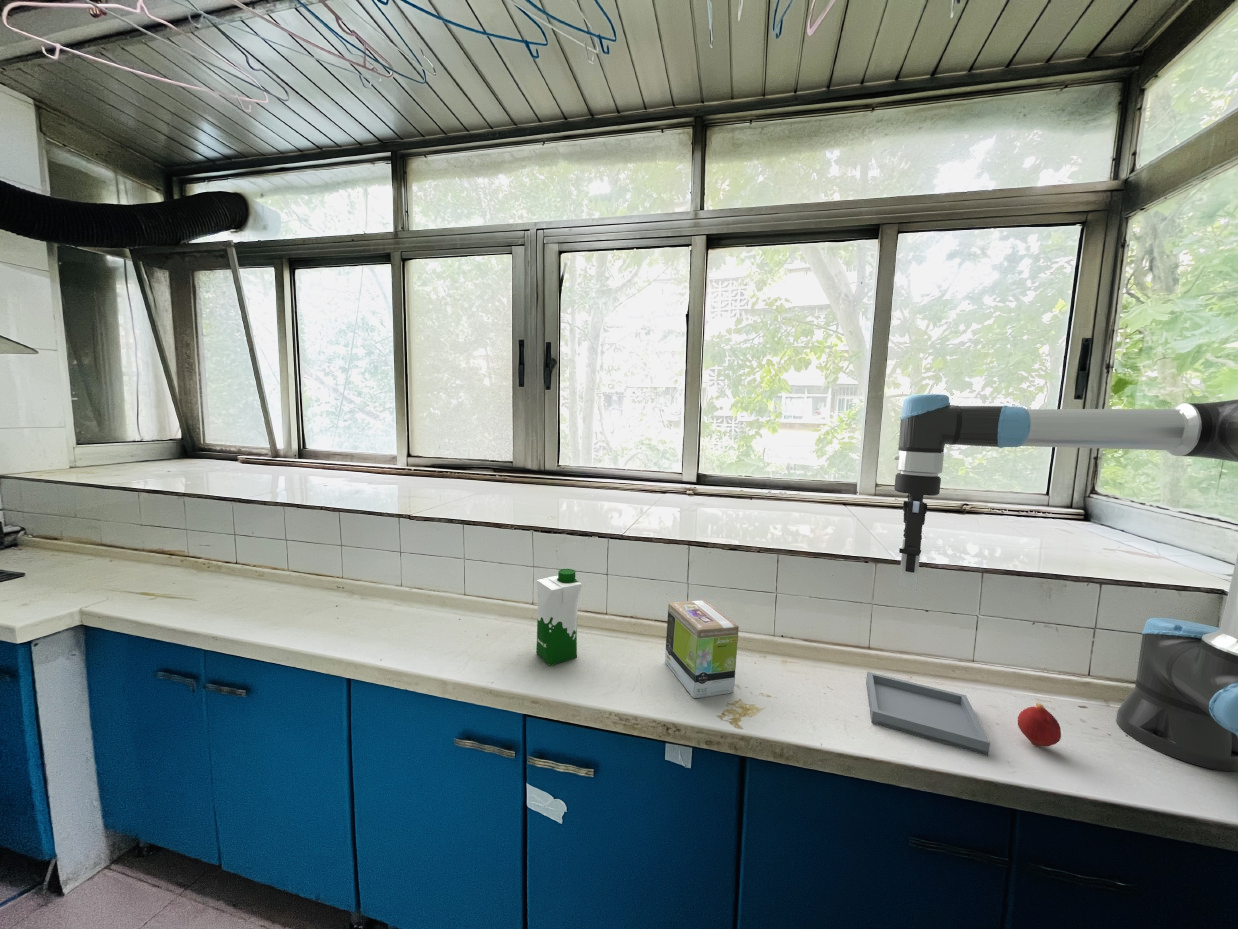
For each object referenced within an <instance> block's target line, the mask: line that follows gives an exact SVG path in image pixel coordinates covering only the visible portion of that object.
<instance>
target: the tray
mask: <svg viewBox="0 0 1238 929" xmlns="http://www.w3.org/2000/svg"><path fill="white" fill-rule="evenodd" d="M865 678H866V679H865V685H866V691H867V699H868V706H869V714H870V721H871V724H872V725H876V726H880V727H884V728H886V729H890V730H894V731H897V732H899V733H900V732H901V733H904V734H908V735H911V736H916V737H919V738H921V739H925V740H929V741H933V742H937V743H939V744H944V745H947V746H951V747H954V748H958V749H962V750H965V751H968V752H971V753H975V754H978V755H982V756H986V757H989V756H990V755H989V754H990V747H991V742H990V740H989V738H988V736H987V735H986V733H985V730H984V729H983V726H982V724H981V723H980V720H979V718H978V717H977V715H976V714H977V713H975V711H974V709H973V706H972V705H971V702H970V701H969V698H968V696H967V695H966V694H962V693H959V692H954V691H949V690H946V689H942V688H938V687H933V686H929V685H924V684H921V683H918V682H917V683H916V682H913V681H909V680H904V679H900V678H895V677H892V676H888V675H884V674H881V673H875V672H871V671H867V672H866V677H865Z"/></svg>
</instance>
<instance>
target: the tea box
mask: <svg viewBox="0 0 1238 929" xmlns="http://www.w3.org/2000/svg"><path fill="white" fill-rule="evenodd" d="M667 606H668V607H667V622H666V623H667V624H666V635H665V638H666V639H665V653H664V663H665V664H666V665H667V666H668V668H669V669H670V670H671V672H672V673H673V674H674V675H675V676H676V678H677V680H678V681H679V682H680V683H681V685H682V686H683V687H684V689H686V690H687V691H688V693H689V695H690V697H691V696H692V698H693V699H698V698H707V697H714V696H719V695H726V694H731V693H734V691H735V679H736V668H737V657H738V656H737V655H738V640H739V628H740V626H739V625H738V624H737V623H736V622H735V621H733V620H732V619H731V618H730V617H727V615H725V614H723V613H722V612H721V611H720V610H718V609H717V608H716V607H715V606H713V605H712V604H711V603H709V602H708V601H706V599H705V600H704V599H702V600H692V601H691V600H690V601H688V600H687V601H677V602H676V601H675V602H668V605H667Z"/></svg>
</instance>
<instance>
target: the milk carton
mask: <svg viewBox="0 0 1238 929" xmlns="http://www.w3.org/2000/svg"><path fill="white" fill-rule="evenodd" d="M557 574H558V575H554V576H548V577H546V578H540V579H537V580H536V590H537V617H536V618H537V621H536V623H537V626H536V627H537V628H536V649H535V653H536V654H537V655H538V656H539V657H540V658H541V659H542V660H543V661H544V662H545V663H546V664H548V666H550V667H551V666H555V665H557V664H560V663H563V662H564V663H565V662H567V661H571V660H573V659H576V658H577V657H578V648H577V647H578V639H577V638H578V637H577V636H578V615H579V614H578V611H579V610H578V609H579V608H578V607H579V596H580V593H581V589H582V586H583V584H582V583H581V582H580V581H579V580H577V578H576V570H574V569H572V568H563V569H559V570H558V572H557Z"/></svg>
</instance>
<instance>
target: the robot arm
mask: <svg viewBox="0 0 1238 929" xmlns="http://www.w3.org/2000/svg"><path fill="white" fill-rule="evenodd" d="M901 411H902V412H901V417H900V422H899V423H900V424H899V425H900V426H899V435H898V436H899V439H898V447H897V448H898V449H897V450H898V451H897V452H898V454H896V455H894V456H893V459H894V460H895V461H897V462H896V470H897V471H899V472H897V473H896V474H895V478H894V491H895V492H897V493H901V494H906V498H907V500H903V504H902V511H903V523H904V529H903V534H902V535H903V538H902V547H900V548H899V549H898V553H899V554H901V558H900V568H899V569H900V577H899V587H900V588H905V589H911V590H916V591H917V589H918V578H919V570H920V569H919V568H920V561H921V560H920V558H921V557H920V556H921V553H922V550H921V549H922V548H921V546H922V539H923V535H922V532H923V526H924V525H925V522H926V514H927V512H928V503H927V502H925V501H924V496H929V497H933V496H938V495H939V494H940V491H941V484H942V482H941V481H942V478H941V476H939V474H941V473H943V467H944V456H945V445H950V446H953V445H954V446H955V445H956V446H969V447H971V446H972V447H988V448H993V447H994V448H999V449H1002V448H1019V447H1020V448H1021V447H1035V448H1037V447H1039V448H1040V447H1043V448H1044V447H1045V448H1075V449H1076V448H1078V449H1080V448H1081V449H1106V450H1107V449H1110V450H1111V449H1112V450H1113V449H1114V450H1143V451H1146V450H1148V451H1166V452H1168V454H1170V455H1172V456H1175V457H1193V458H1202V459H1203V458H1205V459H1211V460H1212V459H1213V460H1220V461H1228V462H1234V463H1238V399H1231V400H1224V401H1223V400H1222V401H1212V402H1210V401H1209V402H1197V403H1196V402H1195V403H1194V402H1193V403H1192V402H1189V403H1188V402H1185V403H1184V402H1183V403H1179V404H1177V405H1174V406H1173V407H1172V408H1088V409H1087V408H1086V409H1085V408H1078V409H1077V408H1075V409H1074V408H1069V409H1067V408H1065V409H1064V408H1063V409H1062V408H1059V409H1058V408H1055V409H1053V408H1050V409H1049V408H1048V409H1047V408H1045V409H1043V408H1042V409H1041V408H1039V409H1038V408H1037V409H1036V408H1034V409H1033V408H1030V409H1028V408H1025V407H1022V406H1010V405H1009V406H1008V405H1003V406H1002V405H956V404H951V402H950V397H949V396H948V395H947V394H937V393H935V394H934V393H915V394H910V395H908V396H906V397H905V398H904V399H903V403H902V410H901ZM1224 606H1225V607H1224V610H1223V614H1222V618H1221V624H1220V627H1217V626H1212V625H1209V624H1203V623H1199V622H1194V621H1187V620H1182V619H1176V618H1170V617H1151V618H1148V619H1147V620H1146V621H1145V625H1144V627H1143V630H1142V632H1141V635H1142V637H1141V643H1140V651H1139V658H1138V662H1137V663H1138V665H1137V671H1136V679H1135V685H1134V688H1133V689H1132V691H1131V692H1130V693H1129V695H1128V696H1126V698H1125V700H1124V701H1123V702H1122V703H1121V705H1120V706H1119V707H1118V709H1117V712H1116V719H1115V721H1116V724H1117V725H1118V726H1119V728H1120V729H1121V730H1123V731H1124V732H1125V733H1126V734H1128V735H1129V736H1130V737H1132V738H1134V739H1135V740H1137V741H1138V742H1140V743H1142V744H1144V745H1146V746H1148V747H1149V748H1151V749H1153V750H1156V751H1158V752H1161V753H1162V754H1164V755H1167V756H1170V757H1172V758H1174V759H1178V760H1180V761H1183V762H1186V763H1189V764H1193V765H1196V766H1199V767H1202V768H1206V769H1207V768H1208V769H1210V770H1215V771H1216V770H1217V771H1224V772H1237V771H1238V553H1237V554H1236V560H1235V564H1234V567H1233V571H1232V576H1231V580H1230V584H1229V590H1228V593H1227V597H1226V602H1225V605H1224Z"/></svg>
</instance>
